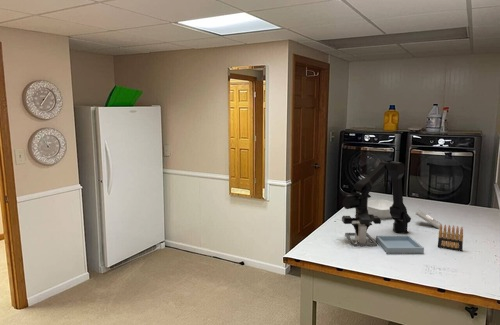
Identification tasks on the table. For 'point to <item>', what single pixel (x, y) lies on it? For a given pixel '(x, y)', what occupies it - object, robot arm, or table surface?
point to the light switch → (428, 219)
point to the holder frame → (360, 243)
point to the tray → (399, 245)
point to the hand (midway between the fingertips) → (360, 235)
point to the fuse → (361, 233)
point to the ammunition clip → (450, 238)
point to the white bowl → (380, 208)
